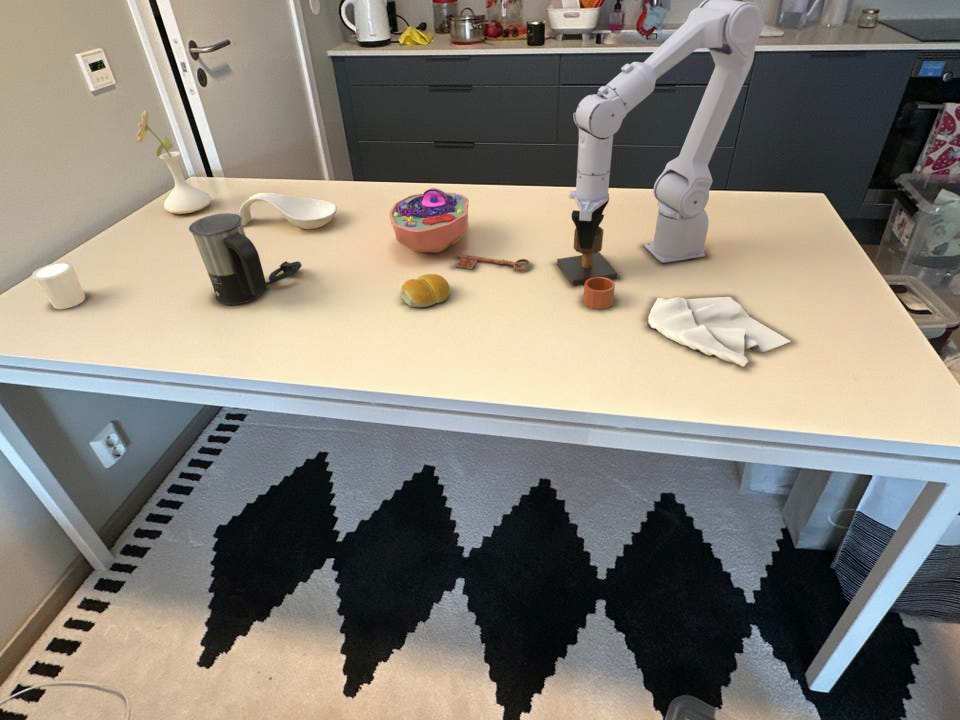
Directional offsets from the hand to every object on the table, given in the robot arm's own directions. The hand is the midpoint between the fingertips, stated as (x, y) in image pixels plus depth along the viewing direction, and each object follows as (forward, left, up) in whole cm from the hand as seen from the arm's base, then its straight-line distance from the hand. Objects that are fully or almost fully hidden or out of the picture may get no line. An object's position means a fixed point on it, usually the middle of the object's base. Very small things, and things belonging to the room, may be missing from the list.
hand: (588, 241), depth 110 cm
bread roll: (+32, 0, -7) cm, 33 cm away
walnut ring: (0, 0, -1) cm, 1 cm away
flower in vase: (+84, -61, -7) cm, 104 cm away
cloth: (-13, +25, -7) cm, 29 cm away
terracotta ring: (+2, +11, -6) cm, 13 cm away
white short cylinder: (+100, -20, -7) cm, 102 cm away
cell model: (+27, -21, -7) cm, 35 cm away
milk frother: (+63, -14, -7) cm, 65 cm away
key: (+17, -8, -6) cm, 20 cm away
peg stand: (0, 0, -6) cm, 6 cm away
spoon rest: (+58, -43, -7) cm, 72 cm away
